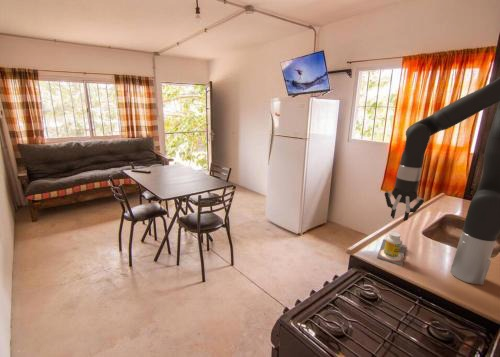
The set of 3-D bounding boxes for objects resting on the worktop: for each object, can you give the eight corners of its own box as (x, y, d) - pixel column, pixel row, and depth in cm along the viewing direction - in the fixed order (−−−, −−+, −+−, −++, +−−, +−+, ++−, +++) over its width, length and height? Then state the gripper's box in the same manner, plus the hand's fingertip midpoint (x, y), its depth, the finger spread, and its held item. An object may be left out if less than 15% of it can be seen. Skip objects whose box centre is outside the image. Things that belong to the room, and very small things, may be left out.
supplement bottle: (387, 249, 110) (392, 229, 108) (400, 256, 106) (405, 235, 103) (380, 253, 108) (385, 232, 105) (393, 259, 103) (398, 238, 101)
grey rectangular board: (405, 246, 115) (406, 240, 115) (401, 265, 101) (403, 259, 100) (383, 240, 120) (384, 234, 119) (376, 257, 106) (378, 251, 105)
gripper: (385, 176, 98) (377, 217, 103) (430, 183, 91) (419, 227, 95) (388, 172, 104) (380, 211, 109) (430, 178, 97) (420, 220, 101)
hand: (398, 218), depth 102 cm, fingers open, 3 cm apart
